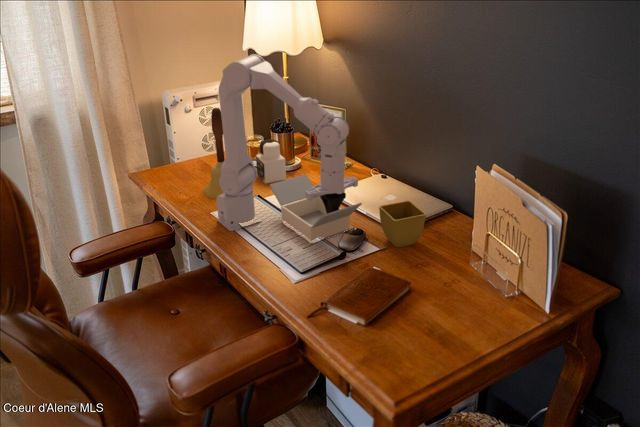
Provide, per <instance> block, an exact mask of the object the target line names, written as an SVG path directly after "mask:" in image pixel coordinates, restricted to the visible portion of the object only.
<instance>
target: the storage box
mask: <svg viewBox="0 0 640 427" xmlns="http://www.w3.org/2000/svg"><path fill="white" fill-rule="evenodd" d="M340 209H342V208H341V206H340V207H339V210H340ZM280 214H281V220H282V219H283V220H284V221H286V222H287V223H288V224H290V225H291V226H293V227H294V228H295V229H296V230H298V231H299V232H301V233H302V234H304V235H305V236H306V237H308V239H310V240H311V241H312V240H314V239H316V238H317V237H324V238H327V239H329V238H328V237H330V238H332V237H331V236H333V237H335V236H334V235H336V236H338V235H337V234H339V235H341V234H343V233H342V232H344V231H346V230H348V229H349V230H350V216H351V215H349V216H346V217H343V218H340V219H337V220H334V221H331V222H328V223H326V224H323V225H320V226H317V227H314V228H312V226H313V225H314V224H315V223H316V222H317V221H318V219H319V218H320V217H321V216H322V215H325V214H327V213H326V209H325V206H324V203H323V201H322V199H321V198H320V196H319V197H316V198H313V200H311V201H309V200H308V199H306V198H305V199H302V200H299V201H295V202H292V203H289V204H286V205H282V206H280ZM340 233H341V234H340ZM344 233H345V232H344Z"/></svg>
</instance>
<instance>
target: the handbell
mask: <svg viewBox="0 0 640 427" xmlns="http://www.w3.org/2000/svg"><path fill="white" fill-rule="evenodd" d="M210 118H211V119H210V121H211V130H212V134H213V137H214V140H215V150H216V160H217V162H216V164H214V165H213V166H212V167H211V169H210V178H211V179H210V181H209V182H208V183H207V184H206V185H205V186H204V187H203V191H202V193H203V194H204V196H207V197H208V198H212V199H217V197H218V196H219V195H221V194H223V193H224V191H223V190H222V189H221V187H220V184H219V179H220V176H221V167H222V165H223V162H224V160H225V147H224V135H223V126H222V117H221V108H219V107H213V108H212V109H211V117H210Z"/></svg>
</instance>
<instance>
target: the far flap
mask: <svg viewBox="0 0 640 427" xmlns="http://www.w3.org/2000/svg"><path fill="white" fill-rule="evenodd" d="M269 187H270V190H271V191H272V193H273V194H274V196H275V198H276V200H277V202H278V204H279V205H280V207H281V206H283V205H286V204H290V203H293V202H296V201H299V200H303V199H306V198H305V191H306V190H309V189H311V188H313V187H314V185H313V184H312V182H311V180H310V179H309V177H308V175H307V174H302V175H301V174H300V175H298V176H294V177H291V178H286V180H282V181H277V182H272V183H269Z"/></svg>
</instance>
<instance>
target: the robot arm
mask: <svg viewBox="0 0 640 427" xmlns="http://www.w3.org/2000/svg"><path fill="white" fill-rule="evenodd" d="M249 88H250V90H266V91H267V92H269V93H271V94H272V95H274V97H277V98H278V99H279V100H280V101H282V102H283V103H285V104H286V105H288V106H289V107H291V108H292V109H293V114H294V117H295V118H296V119H297V120H298V121H300V122H301V123H302V124H304V125H305V126H306V127H307V128H308V129H309V130H310V131H312V132H313V133H314V134H315V135H316V140H317V142H318V143H319V145H320V183H319V182H318V184H316V185H313V188H311V189H309V190H306V191H305V199H308V200H309V201H311V200H313V198H316V197H319V196H320V198H321V199H322V201H323V203H324V206H325V209H326V213H327V214H328V213H331V212H334V211H337V210H339V207H340V208H341V206H342V204H343V201H344V200H345V199H346V197H347V196H346V194H347V193H346V192H345V191H346V189H348V188H351V187H353V188H356V187H358V186H359V179H358V178H356V177H355V176H351V177H345V164H346V163H345V162H346V139H347V137H348V136H349V133H350V126H349V124H348V122H347V120H345V119H344V117H343V116H340V115H334V114H333V113H330V112H329V111H328V110H326V108H324V107H323V106H322V105H320V104H319V103H320V102H319V100H317V98H314V99H313V98H312V97H303V96H302V95H301V94H299V92H298V91H296V90H295V89H294V87H292V86H291V85H290V84H289V83H288V82H287V81H286V80H285V79H283V77H281V76H280V75H279V74H278V73H277V72H276V71H275V70H274V68H273V66H272V64H271V63H270V62H269V61H267V60H265V59H264V57H262V56H261V55H259V54H256V53H252V54H249V55H247V56H246V57H244V58H241V59H239V60H236V61H231V62H230V63H229V64H228V65H227V66H226V67H224V69H222V78H221V81H220V83H219V85H218V98H219V99H218V100H219V107H220V108H219V109H220V111H221V117H222V126H223V145H224V154H225V157H224V159H225V160H224V162H223V165H222V167H221V176H220V179H219V184H220V187H221V189H222V190H223V191H224V193H223V194H221V195H219V196H218V197H217V198H216V209H217V217H218V218H217V220H216V221H217V222H218V223H219V224H221V225H222V226H223V227H225V228H226V229H227V230H228V231H230V232H232V231H236V230H239V228H240V226H239V225H238V224H239V223H244V222H248V221H250V220H252V219H254V217H255V215H256V211H255V199H254V198H255V197H254V183H255V181H256V180H257V177H258V176H257V167H255V163H254V158H253V157H252V156H250V155H249V154H248V148H247V138H246V137H247V136H246V127H245V125H246V124H245V115H244V106H243V94H244V93H245V92H246V91H247V90H248V89H249ZM240 229H241V228H240Z"/></svg>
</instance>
